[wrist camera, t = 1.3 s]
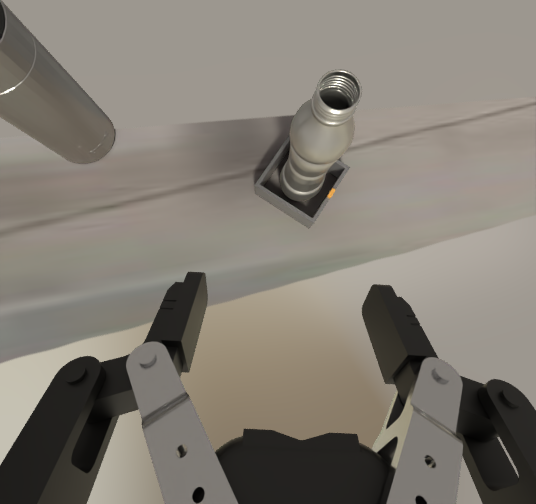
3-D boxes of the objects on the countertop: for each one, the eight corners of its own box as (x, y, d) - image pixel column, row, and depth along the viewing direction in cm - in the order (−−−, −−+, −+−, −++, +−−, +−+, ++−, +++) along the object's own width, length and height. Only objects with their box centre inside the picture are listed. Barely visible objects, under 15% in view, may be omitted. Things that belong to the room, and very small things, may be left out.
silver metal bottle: (327, 181, 40) (396, 84, 20) (302, 214, 39) (347, 145, 19) (295, 157, 40) (332, 36, 20) (269, 188, 40) (281, 96, 20)
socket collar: (254, 193, 39) (254, 184, 35) (289, 143, 40) (292, 129, 37) (308, 228, 39) (314, 222, 35) (341, 177, 40) (350, 166, 36)
